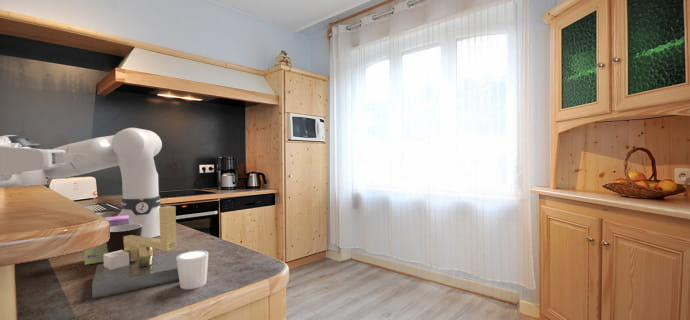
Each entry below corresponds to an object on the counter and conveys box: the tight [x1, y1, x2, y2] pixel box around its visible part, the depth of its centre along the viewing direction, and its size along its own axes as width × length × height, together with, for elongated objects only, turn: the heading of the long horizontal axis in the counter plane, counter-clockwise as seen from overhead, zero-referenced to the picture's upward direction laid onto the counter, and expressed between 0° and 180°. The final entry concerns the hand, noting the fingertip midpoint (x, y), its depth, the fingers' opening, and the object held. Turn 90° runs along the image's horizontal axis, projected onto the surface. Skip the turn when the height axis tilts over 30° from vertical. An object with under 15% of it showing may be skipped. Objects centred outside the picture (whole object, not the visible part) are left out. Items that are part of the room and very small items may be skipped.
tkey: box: [123, 205, 178, 266], centre depth 77 cm, size 16×3×15 cm, turn 68°
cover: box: [103, 250, 129, 270], centre depth 77 cm, size 4×4×3 cm
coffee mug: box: [106, 224, 142, 258], centre depth 89 cm, size 12×9×10 cm
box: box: [83, 215, 129, 266], centre depth 91 cm, size 10×6×12 cm, turn 126°
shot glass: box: [176, 249, 209, 290], centre depth 74 cm, size 7×7×7 cm
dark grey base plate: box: [91, 249, 189, 300], centre depth 78 cm, size 14×20×3 cm
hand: (86, 157), depth 70 cm, fingers closed
